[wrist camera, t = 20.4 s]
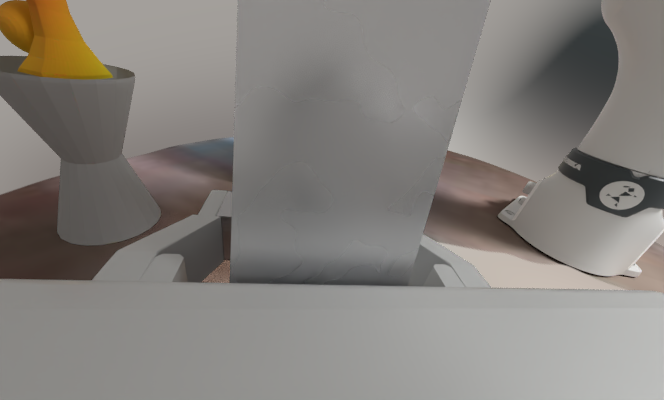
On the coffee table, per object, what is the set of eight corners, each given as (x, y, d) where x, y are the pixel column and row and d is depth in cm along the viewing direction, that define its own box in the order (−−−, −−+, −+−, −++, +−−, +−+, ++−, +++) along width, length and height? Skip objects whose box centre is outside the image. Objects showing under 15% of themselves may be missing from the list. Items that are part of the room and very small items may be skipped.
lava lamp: (180, 208, 31) (96, -334, 13) (113, 256, 23) (-311, -897, 5) (114, 190, 31) (-52, -352, 14) (26, 232, 24) (-610, -885, 6)
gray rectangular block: (220, 605, 10) (239, 467, 13) (321, 581, 10) (312, 458, 14) (244, -221, 3) (269, -34, 7) (521, -105, 4) (405, 3, 7)
